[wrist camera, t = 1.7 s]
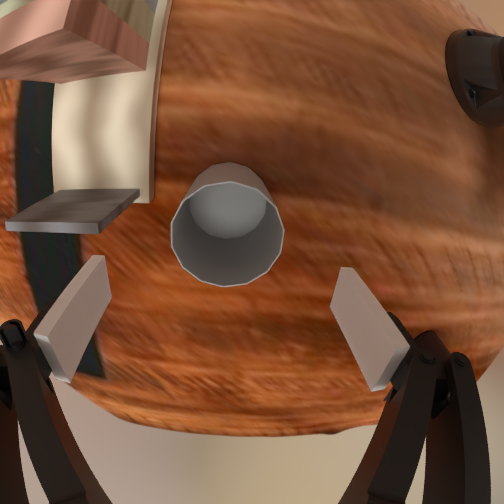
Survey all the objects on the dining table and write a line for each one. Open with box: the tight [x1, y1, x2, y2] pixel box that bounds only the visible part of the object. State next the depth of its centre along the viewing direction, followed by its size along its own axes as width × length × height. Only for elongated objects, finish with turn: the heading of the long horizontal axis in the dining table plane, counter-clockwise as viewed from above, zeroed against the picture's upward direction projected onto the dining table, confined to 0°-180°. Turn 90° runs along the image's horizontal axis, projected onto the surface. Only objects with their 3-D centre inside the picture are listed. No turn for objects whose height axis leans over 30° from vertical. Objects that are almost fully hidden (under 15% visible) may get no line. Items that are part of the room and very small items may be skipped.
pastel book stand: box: [0, 0, 173, 234], centre depth 15 cm, size 12×24×17 cm, turn 174°
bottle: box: [414, 331, 451, 360], centre depth 34 cm, size 7×7×20 cm
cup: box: [171, 162, 285, 287], centre depth 25 cm, size 8×8×10 cm
